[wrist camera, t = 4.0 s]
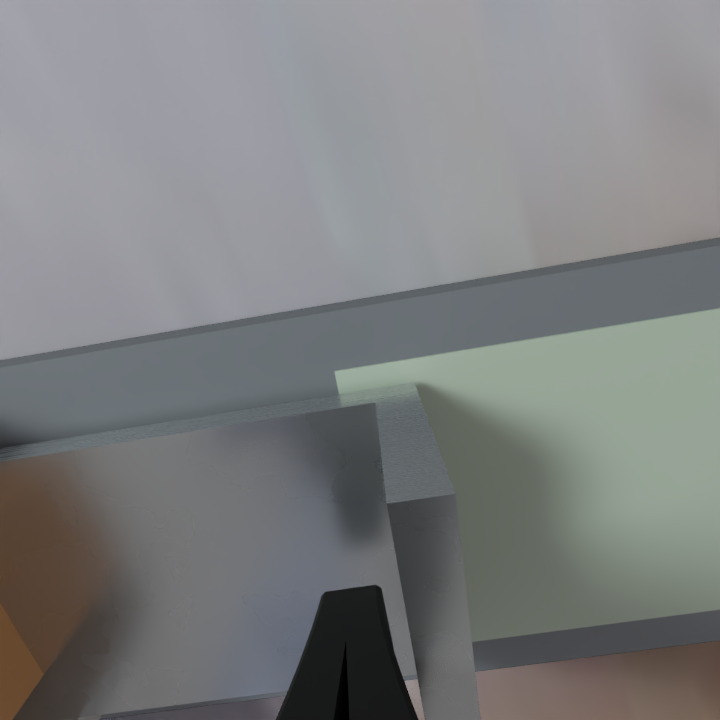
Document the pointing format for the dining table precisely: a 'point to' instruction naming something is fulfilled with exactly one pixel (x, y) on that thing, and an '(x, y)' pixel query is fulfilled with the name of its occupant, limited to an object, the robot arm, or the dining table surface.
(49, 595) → the sled
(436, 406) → the track base
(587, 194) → the dining table surface
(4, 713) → the block
